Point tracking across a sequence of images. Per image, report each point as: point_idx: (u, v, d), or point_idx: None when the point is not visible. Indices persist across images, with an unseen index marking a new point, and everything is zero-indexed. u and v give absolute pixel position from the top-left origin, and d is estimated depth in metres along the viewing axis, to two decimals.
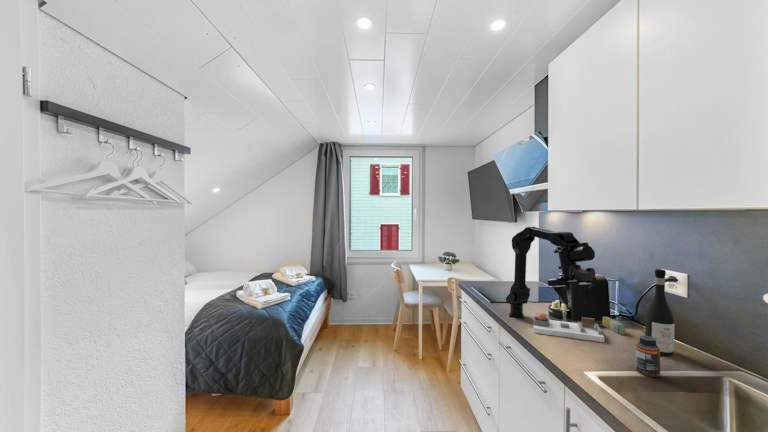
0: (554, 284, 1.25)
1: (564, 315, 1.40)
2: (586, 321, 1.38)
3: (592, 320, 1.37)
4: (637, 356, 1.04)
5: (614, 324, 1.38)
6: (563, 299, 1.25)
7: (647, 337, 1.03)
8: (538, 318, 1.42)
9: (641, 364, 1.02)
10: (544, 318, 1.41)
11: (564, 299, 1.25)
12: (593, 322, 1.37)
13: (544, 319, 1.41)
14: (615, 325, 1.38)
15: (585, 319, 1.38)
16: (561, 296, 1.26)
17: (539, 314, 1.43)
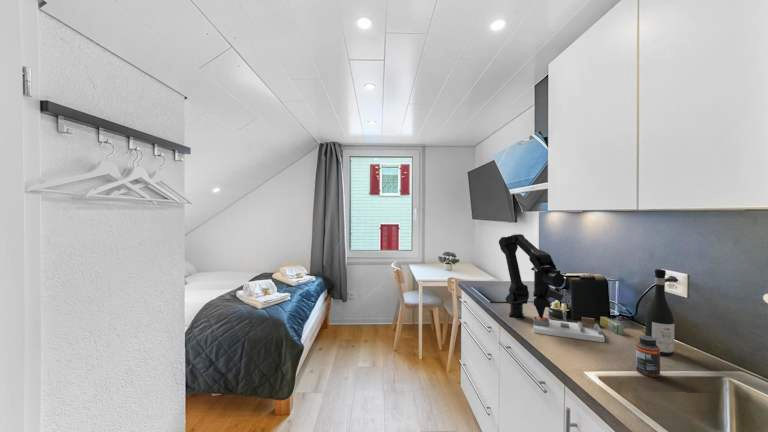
0: (544, 305, 1.34)
1: (564, 315, 1.40)
2: (586, 321, 1.38)
3: (592, 320, 1.37)
4: (637, 356, 1.04)
5: (613, 324, 1.38)
6: (540, 313, 1.42)
7: (647, 337, 1.03)
8: None
9: (641, 364, 1.02)
10: None
11: (541, 313, 1.42)
12: (593, 322, 1.37)
13: None
14: (614, 325, 1.38)
15: (585, 319, 1.38)
16: (539, 311, 1.42)
17: (539, 317, 1.43)
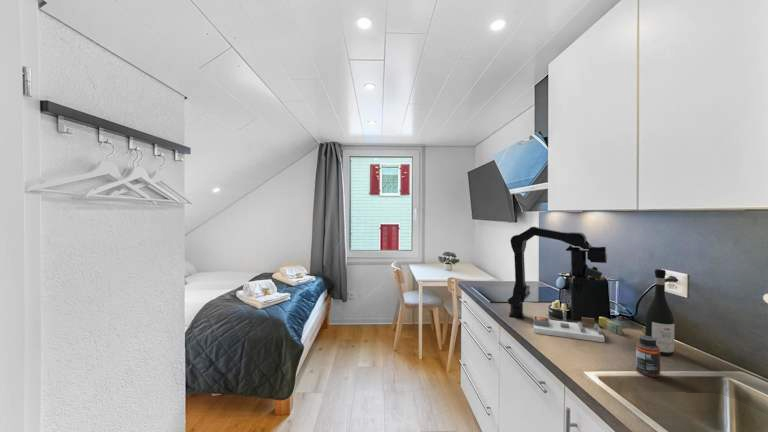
0: (583, 283, 1.34)
1: (564, 315, 1.40)
2: (586, 321, 1.38)
3: (592, 320, 1.37)
4: (637, 356, 1.04)
5: (612, 324, 1.38)
6: (578, 293, 1.42)
7: (647, 337, 1.03)
8: None
9: (641, 364, 1.02)
10: None
11: (579, 293, 1.42)
12: (593, 322, 1.37)
13: None
14: (613, 325, 1.37)
15: (585, 319, 1.38)
16: (577, 290, 1.42)
17: (539, 318, 1.43)
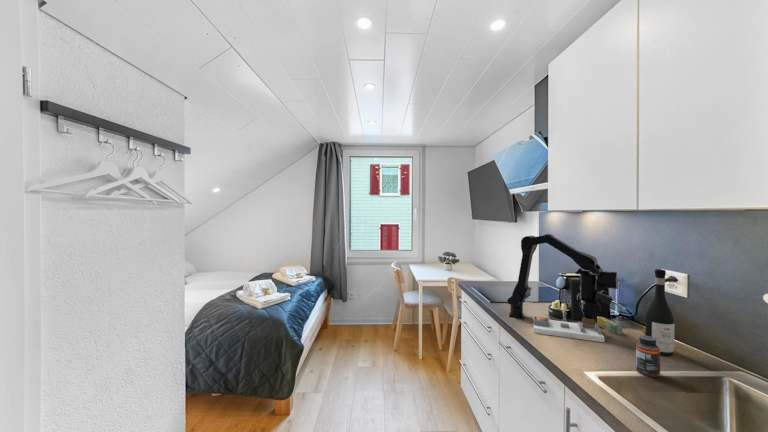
0: (594, 309, 1.30)
1: (564, 315, 1.40)
2: (586, 321, 1.37)
3: (592, 321, 1.36)
4: (637, 356, 1.04)
5: (611, 324, 1.38)
6: (587, 317, 1.38)
7: (647, 337, 1.03)
8: None
9: (641, 364, 1.02)
10: None
11: (588, 317, 1.38)
12: (593, 323, 1.36)
13: None
14: (612, 325, 1.37)
15: (585, 320, 1.37)
16: (586, 315, 1.38)
17: (539, 318, 1.43)
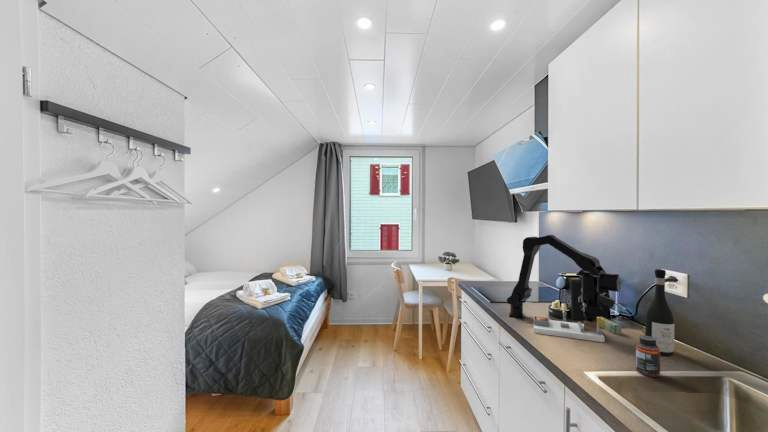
0: (596, 312, 1.26)
1: (564, 315, 1.40)
2: (588, 324, 1.33)
3: (594, 324, 1.32)
4: (637, 356, 1.04)
5: (610, 324, 1.38)
6: (589, 320, 1.34)
7: (647, 337, 1.03)
8: None
9: (641, 364, 1.02)
10: None
11: (590, 320, 1.34)
12: (595, 326, 1.32)
13: None
14: (611, 325, 1.37)
15: (587, 323, 1.33)
16: (588, 318, 1.34)
17: (539, 318, 1.43)
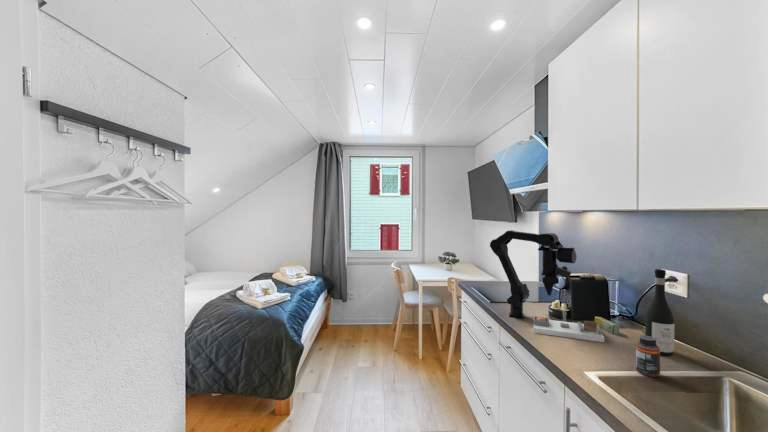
0: (552, 282, 1.39)
1: (564, 315, 1.40)
2: (588, 324, 1.33)
3: (594, 324, 1.32)
4: (637, 356, 1.04)
5: (608, 324, 1.38)
6: (548, 291, 1.48)
7: (647, 337, 1.03)
8: None
9: (641, 364, 1.02)
10: None
11: (549, 291, 1.47)
12: (595, 326, 1.32)
13: None
14: (609, 325, 1.37)
15: (587, 323, 1.33)
16: (547, 288, 1.47)
17: (539, 318, 1.43)
